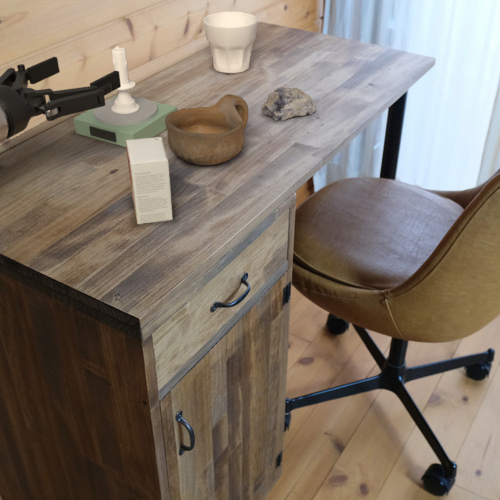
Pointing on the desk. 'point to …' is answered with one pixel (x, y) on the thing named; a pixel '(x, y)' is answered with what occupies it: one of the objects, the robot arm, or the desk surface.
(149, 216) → the small box
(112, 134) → the scale
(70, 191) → the desk surface
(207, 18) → the cup
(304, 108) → the mineral specimen
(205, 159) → the bowl
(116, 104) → the candle
